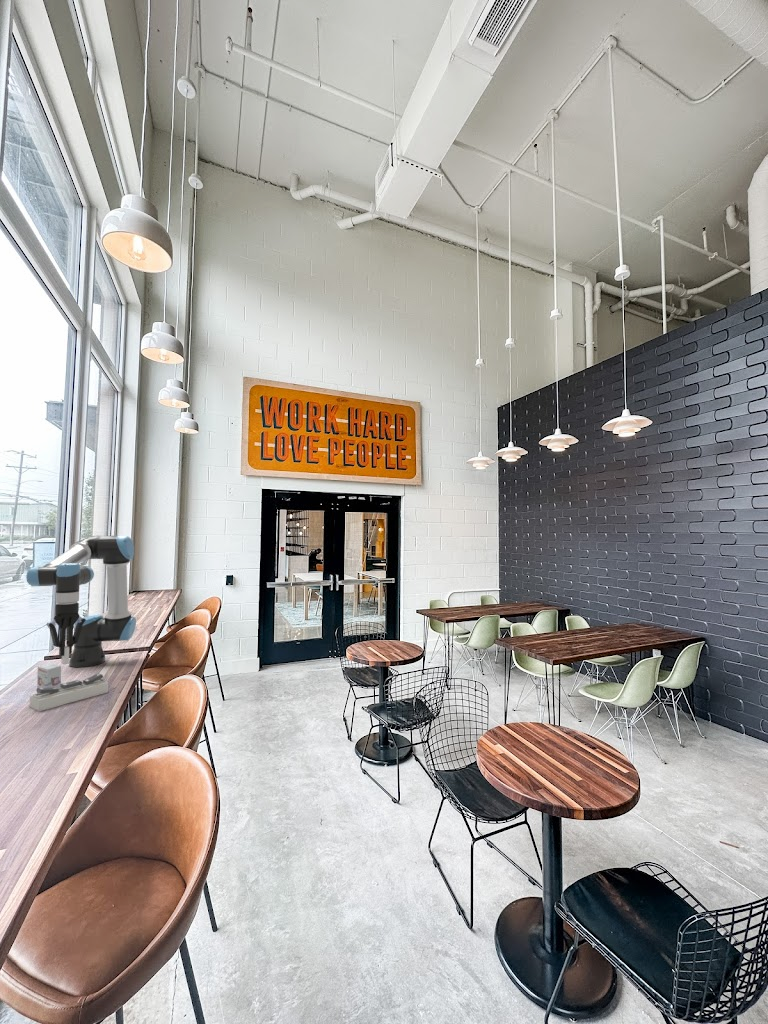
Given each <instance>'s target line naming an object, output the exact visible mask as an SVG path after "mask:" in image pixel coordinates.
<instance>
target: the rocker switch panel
mask: <svg viewBox="0 0 768 1024" xmlns="http://www.w3.org/2000/svg"><path fill="white" fill-rule="evenodd" d="M57 689H59V691H58V692H57V693H34V694H31V695H29V707H30V708H31V709H33V710H35V711H37V712H41V711H45V710H49V709H52V708H56V707H58V706H59V707H60V706H63V705H67V704H70V703H73V702H77V701H78V702H79V701H80V700H84V699H87V698H92V697H96V696H98V695H102V694H106V693H109V681H107V679H104V678H101V679H99V680H97V681H95V682H93V683H91V684H89V685H87V684H84V683H83V681H82V685H78V686H74V687H70V688H66V689H63V688H57Z"/></svg>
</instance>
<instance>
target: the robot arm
mask: <svg viewBox="0 0 768 1024" xmlns="http://www.w3.org/2000/svg"><path fill="white" fill-rule="evenodd" d="M134 556H135V545H134V541H133V540H132V538H131V537H129V536H127V535H92V536H89V537H85V538H83V539H80V540H78V541H76V542H75V543H73V544H71V545H70V546H69V548H68V550H66V551H64V552H63V553H62V554H60V555H59V556H57V557H56V558H54V559H52V560H51V561H49V562H48V563H46V564H44V565H42V566H35V567H30V568H29V569H28V570H27V572H26V578H25V579H26V582H27V584H28V585H30V586H38V587H41V586H44V587H45V586H55V587H56V589H55V603H56V604H55V608H54V609H55V610H54V613H55V615H54V617H53V619H52V621H50V622H47V623H46V626H47V627H48V629H49V632H50V636H51V641H52V645H53V647H57V648H59V649H58V655H59V656H60V657H61V660H60V662H61V664H62V665H68V666H69V667H71V668H84V667H85V668H86V667H92V666H97V665H100V664H103V663H105V662H104V661H106V655H105V651H104V648H103V646H102V645H103V643H102V642H123V641H129V640H131V638H132V637H133V635H134V632H135V631H136V625H137V620H136V617H135V616H132V612H131V611H130V610H129V605H128V604H129V603H128V602H129V601H128V599H129V597H128V570H127V569H128V567H127V565H128V564H129V563H130V562H131V560H132V559H133V558H134ZM88 560H102V563H103V564H104V565H105V566H106V575H107V576H106V579H107V580H106V581H107V584H106V585H107V610H108V611H107V613H106V614H105V615H104V616H103V614H96V615H95V614H93V615H88V616H83V617H81V616H80V614H79V609H80V607H79V606H80V603H79V601H80V586H81V585H86V584H88V583H90V582H91V581H92V580H93V579H94V577H95V572H94V569H93V568H92V567H90V566H87V565H80V563H83V562H87V561H88ZM57 625H58V630H59V635H58V633H57V632H58V631H57V627H56V626H57Z"/></svg>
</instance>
